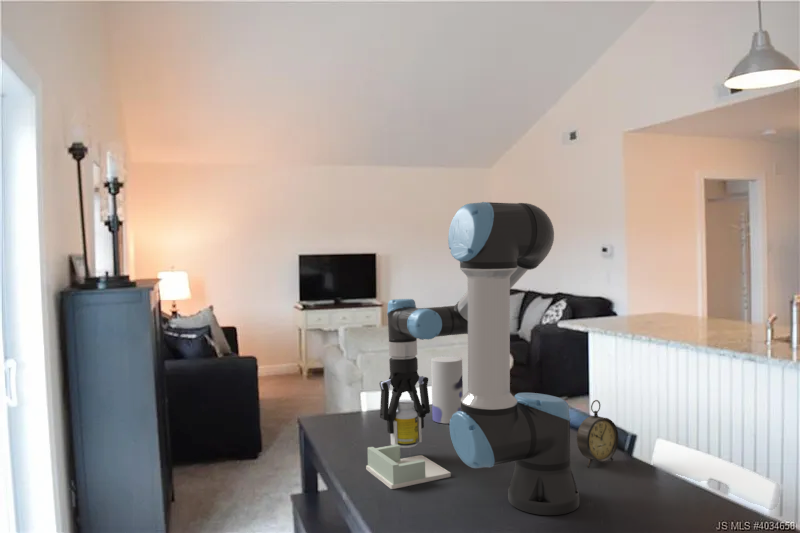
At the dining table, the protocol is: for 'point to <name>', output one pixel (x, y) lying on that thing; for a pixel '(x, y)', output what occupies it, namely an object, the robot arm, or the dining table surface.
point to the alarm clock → (597, 438)
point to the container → (446, 387)
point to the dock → (402, 467)
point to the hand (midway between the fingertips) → (406, 442)
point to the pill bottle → (406, 424)
